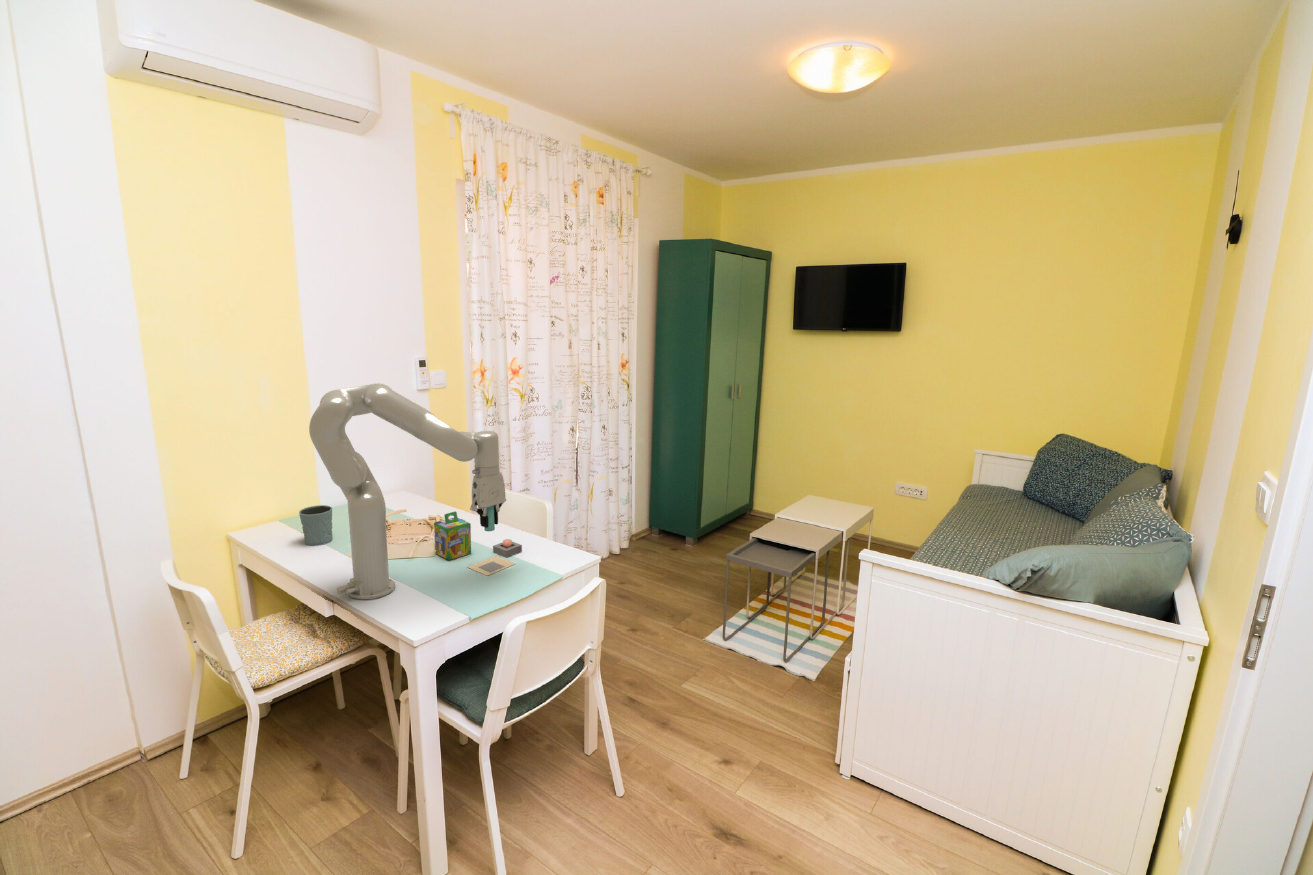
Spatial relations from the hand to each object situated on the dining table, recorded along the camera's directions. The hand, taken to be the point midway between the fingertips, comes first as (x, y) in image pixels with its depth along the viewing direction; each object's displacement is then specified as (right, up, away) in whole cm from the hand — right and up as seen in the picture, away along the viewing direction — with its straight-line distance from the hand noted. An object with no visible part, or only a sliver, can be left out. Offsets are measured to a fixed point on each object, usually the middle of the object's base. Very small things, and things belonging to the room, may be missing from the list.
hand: (489, 524), depth 189 cm
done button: (+1, -11, +18) cm, 21 cm away
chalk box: (-17, -13, +15) cm, 26 cm away
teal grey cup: (-67, -9, +21) cm, 71 cm away
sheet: (-1, -15, +6) cm, 16 cm away
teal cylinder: (0, -2, 0) cm, 2 cm away
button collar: (+1, -12, +18) cm, 22 cm away
